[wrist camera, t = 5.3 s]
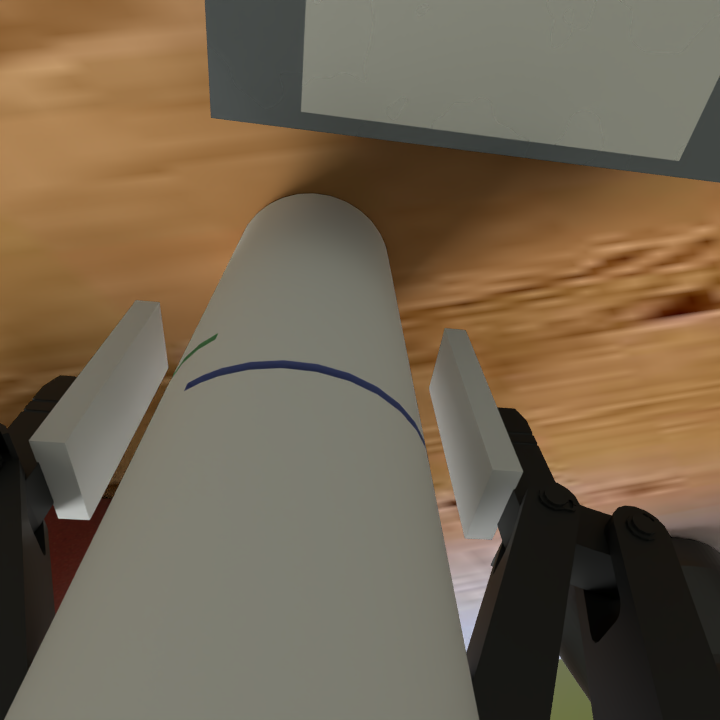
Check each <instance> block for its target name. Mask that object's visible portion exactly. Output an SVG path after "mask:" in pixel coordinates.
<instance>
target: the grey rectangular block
mask: <svg viewBox="0 0 720 720" xmlns="http://www.w3.org/2000/svg"><path fill="white" fill-rule="evenodd" d="M205 12H206V31H207V50H208V69H209V88H210V108H211V118H216V119H224V120H232V121H240V122H248V123H255V124H263V125H271V126H279V127H287V128H295V129H303V130H311V131H318V132H326V133H334V134H342V135H350V136H358V137H366V138H373V139H381V140H389V141H397V142H405V143H413V144H421V145H428V146H436V147H444V148H452V149H460V150H468V151H476V152H484V153H491V154H499V155H507V156H515V157H523V158H531V159H539V160H546V161H554V162H562V163H570V164H578V165H586V166H594V167H602V168H609V169H617V170H625V171H633V172H641V173H649V174H657V175H664V176H672V177H680V178H688V179H696V180H704V181H712V182H720V0H205Z"/></svg>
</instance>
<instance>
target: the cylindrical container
mask: <svg viewBox="0 0 720 720" xmlns="http://www.w3.org/2000/svg"><path fill="white" fill-rule="evenodd" d="M4 720H479V716H478V711H477V706H476V701H475V696H474V691H473V686H472V680H471V675H470V670H469V665H468V660H467V655H466V650H465V645H464V640H463V634H462V629H461V624H460V619H459V614H458V609H457V604H456V599H455V594H454V589H453V583H452V578H451V573H450V568H449V563H448V558H447V553H446V548H445V543H444V537H443V532H442V527H441V522H440V517H439V512H438V507H437V502H436V497H435V491H434V486H433V481H432V476H431V471H430V466H429V461H428V456H427V451H426V446H425V441H424V436H423V431H422V426H421V421H420V416H419V411H418V406H417V401H416V396H415V391H414V386H413V381H412V376H411V371H410V366H409V361H408V356H407V351H406V346H405V341H404V336H403V331H402V325H401V320H400V315H399V310H398V305H397V300H396V295H395V290H394V284H393V279H392V274H391V269H390V264H389V259H388V254H387V249H386V246H385V243H384V241H383V239H382V236H381V234H380V233H379V231H378V230H377V228H376V227H375V225H374V224H373V222H372V221H371V220H370V219H369V218H368V217H367V216H366V215H364V214H363V213H362V212H361V211H360V210H359V209H357V208H355V207H354V206H352V205H351V204H349V203H347V202H346V201H343V200H340V199H337V198H335V197H332V196H328V195H321V194H315V193H310V194H296V195H292V196H288V197H284V198H281V199H279V200H277V201H275V202H273V203H271V204H269V205H268V206H266V207H265V208H264V209H262V210H261V211H260V212H258V213H257V214H256V216H255V217H254V218H253V219H252V220H251V221H250V223H249V224H248V225H247V227H246V229H245V231H244V233H243V235H242V237H241V239H240V241H239V243H238V245H237V247H236V249H235V251H234V253H233V255H232V257H231V259H230V261H229V263H228V265H227V267H226V269H225V271H224V273H223V275H222V277H221V279H220V281H219V283H218V285H217V287H216V289H215V291H214V293H213V295H212V297H211V299H210V302H209V304H208V306H207V308H206V310H205V312H204V314H203V316H202V318H201V320H200V322H199V324H198V326H197V328H196V330H195V332H194V334H193V336H192V338H191V340H190V342H189V344H188V346H187V348H186V350H185V352H184V354H183V356H182V358H181V360H180V362H179V364H178V366H177V368H176V370H175V372H174V374H173V377H172V379H171V380H170V382H169V384H168V386H167V388H166V391H165V393H164V395H163V397H162V399H161V401H160V403H159V405H158V407H157V409H156V411H155V413H154V415H153V417H152V419H151V421H150V423H149V425H148V427H147V429H146V431H145V433H144V435H143V437H142V439H141V441H140V444H139V446H138V448H137V450H136V452H135V454H134V456H133V458H132V460H131V462H130V464H129V466H128V468H127V470H126V472H125V474H124V476H123V478H122V480H121V482H120V484H119V486H118V488H117V490H116V492H115V495H114V497H113V499H112V501H111V503H110V505H109V507H108V509H107V511H106V513H105V515H104V517H103V519H102V521H101V523H100V525H99V527H98V529H97V531H96V533H95V535H94V537H93V539H92V541H91V543H90V546H89V548H88V550H87V552H86V554H85V556H84V558H83V560H82V562H81V564H80V566H79V568H78V570H77V572H76V574H75V576H74V578H73V580H72V582H71V584H70V586H69V588H68V590H67V592H66V594H65V597H64V599H63V601H62V603H61V605H60V607H59V609H58V611H57V613H56V615H55V617H54V619H53V621H52V623H51V625H50V627H49V629H48V631H47V633H46V635H45V637H44V639H43V641H42V643H41V645H40V647H39V650H38V652H37V654H36V656H35V658H34V660H33V662H32V664H31V666H30V668H29V670H28V672H27V674H26V676H25V678H24V680H23V682H22V684H21V686H20V688H19V690H18V692H17V694H16V696H15V698H14V701H13V703H12V705H11V707H10V709H9V711H8V713H7V715H6V717H5V719H4Z"/></svg>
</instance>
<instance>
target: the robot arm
mask: <svg viewBox="0 0 720 720" xmlns="http://www.w3.org/2000/svg"><path fill="white" fill-rule="evenodd" d="M167 370H168V361H167V354H166V346H165V339H164V332H163V324H162V317H161V309H160V302H150V301H139V300H136V301H135V302H134V304H133V305H132V306H131V308H130V309H129V310H128V311H127V313H126V314H125V315H124V317H123V318H122V319H121V321H120V322H119V323H118V324H117V326H116V327H115V328H114V330H113V331H112V332H111V334H110V335H109V336H108V338H107V339H106V340H105V341H104V343H103V344H102V345H101V347H100V348H99V349H98V351H97V352H96V353H95V355H94V356H93V357H92V358H91V360H90V361H89V362H88V364H87V365H86V366H85V368H84V369H83V370H82V372H81V373H80V374H79V375H78V377H74V376H61V375H60V376H59V377H57V378H55V379H54V380H52V381H51V382H49V383H47V384H46V385H44V386H43V387H42V388H41V389H40V390H39V392H38V393H37V394H36V395H35V396H34V398H33V401H30V402H29V404H28V405H27V406H26V407H25V408H24V412H21V413H20V414H19V415H18V417H17V418H16V419H15V420H14V421H13V423H12V424H11V425H10V426H9V427H8V429H7V428H6V426H4V425H2V424H1V423H0V720H4V719H5V717H6V715H7V713H8V711H9V709H10V707H11V705H12V703H13V701H14V698H15V696H16V694H17V692H18V690H19V688H20V686H21V684H22V682H23V680H24V678H25V676H26V674H27V672H28V670H29V668H30V666H31V664H32V662H33V660H34V658H35V656H36V654H37V652H38V650H39V647H40V645H41V643H42V641H43V639H44V637H45V635H46V633H47V631H48V629H49V627H50V625H51V623H52V621H53V619H54V617H55V607H54V595H53V583H52V572H51V560H50V548H49V537H48V528H47V525H46V523H45V520H44V518H45V516H46V515H47V513H48V511H49V510H50V508H51V507H52V505H53V506H54V508H55V511H56V513H57V516H58V519H77V520H90V519H91V517H92V515H93V513H94V511H95V509H96V507H97V505H98V503H99V502H100V500H101V498H102V496H103V494H104V492H105V490H106V488H107V486H108V484H109V482H110V480H111V478H112V476H113V474H114V472H115V471H116V469H117V467H118V465H119V463H120V461H121V459H122V457H123V455H124V453H125V451H126V449H127V447H128V445H129V443H130V442H131V440H132V438H133V436H134V434H135V432H136V430H137V428H138V426H139V424H140V422H141V420H142V418H143V416H144V414H145V412H146V411H147V409H148V407H149V405H150V403H151V401H152V399H153V397H154V395H155V393H156V391H157V389H158V387H159V385H160V383H161V381H162V380H163V378H164V376H165V374H166V372H167ZM429 390H430V394H431V399H432V403H433V407H434V411H435V415H436V420H437V424H438V428H439V432H440V436H441V440H442V445H443V449H444V453H445V457H446V461H447V466H448V470H449V474H450V478H451V482H452V486H453V491H454V495H455V499H456V503H457V507H458V511H459V516H460V520H461V524H462V528H463V532H464V537H465V538H467V539H488V540H492V538H493V536H494V534H495V532H496V530H497V527H498V528H499V531H500V535H501V538H502V543H501V545H500V547H499V549H498V551H497V553H496V555H495V557H494V559H493V561H492V563H491V566H493V568H492V571H491V575H490V578H489V581H488V584H487V588H486V591H485V594H484V597H483V601H482V604H481V607H480V610H479V614H478V617H477V620H476V623H475V627H474V630H473V633H472V636H471V639H470V643H469V646H468V649H467V652H466V655H467V660H468V665H469V670H470V675H471V680H472V686H473V691H474V696H475V701H476V706H477V711H478V716H479V720H550V715H551V708H552V702H553V695H554V688H555V681H556V674H557V667H558V661H559V655H560V657H561V659H562V660H563V662H564V663H565V665H566V666H567V668H568V669H569V671H570V672H571V674H572V675H573V677H574V678H575V680H576V681H577V683H578V684H579V686H580V687H581V688H582V690H583V691H584V693H585V694H586V696H587V697H588V699H589V700H590V702H591V706H592V713H593V719H594V720H720V553H719V552H718V551H716V550H715V549H714V548H712V547H710V546H708V545H706V544H703V543H700V542H697V541H693V540H688V539H680V538H671V537H670V535H669V533H668V531H667V530H666V528H665V526H664V525H663V524H662V523H661V522H660V521H659V520H658V519H657V518H656V517H654V516H653V515H651V514H650V513H648V512H647V511H645V510H642V509H640V508H637V507H633V506H622V507H619V508H617V509H616V511H615V512H614V513H613V515H612V516H611V515H608V514H605V513H602V512H599V511H596V510H593V509H590V508H587V507H584V506H582V505H580V504H579V502H578V501H577V499H576V497H575V496H574V495H573V494H572V493H571V492H570V491H569V490H568V489H567V488H565V487H564V486H562V485H560V484H558V483H556V482H555V480H554V478H553V476H552V474H551V472H550V470H549V468H548V465H547V463H546V461H545V459H544V457H543V455H542V453H541V450H540V448H539V446H537V442H536V440H535V438H534V436H533V435H532V431H531V429H530V427H529V425H528V423H527V421H526V419H525V418H524V417H523V416H522V415H521V414H520V413H519V412H518V411H517V410H516V409H512V408H498V407H497V406H496V404H495V401H494V399H493V396H492V394H491V391H490V389H489V386H488V384H487V382H486V379H485V377H484V374H483V372H482V369H481V367H480V364H479V362H478V359H477V357H476V354H475V352H474V350H473V347H472V345H471V342H470V340H469V337H468V335H467V332H466V330H459V329H448V328H445V329H444V333H443V337H442V341H441V345H440V348H439V352H438V356H437V360H436V364H435V368H434V372H433V375H432V379H431V383H430V387H429Z"/></svg>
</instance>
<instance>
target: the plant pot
mask: <svg viewBox="0 0 720 720" xmlns="http://www.w3.org/2000/svg"><path fill="white" fill-rule="evenodd" d="M111 501H112V499H101V500H100V502H99V503H98V505H97V507H96V509H95V511H94V513H93V515H92V517H91V519H90V520H77V519H58V516H57V513H56V511H55V508H54V506H53V505H52V507H51V508H50V510H49V511H48V513H47V515H46V516H45V518H44V520H45V523H46V525H47V528H48V537H49V548H50V560H51V572H52V583H53V595H54V607H55V615H56V613H57V611H58V609H59V607H60V605H61V603H62V601H63V599H64V597H65V594H66V592H67V590H68V588H69V586H70V584H71V582H72V580H73V578H74V576H75V574H76V572H77V570H78V568H79V566H80V564H81V562H82V560H83V558H84V556H85V554H86V552H87V550H88V548H89V546H90V543H91V541H92V539H93V537H94V535H95V533H96V531H97V529H98V527H99V525H100V523H101V521H102V519H103V517H104V515H105V513H106V511H107V509H108V507H109V505H110V503H111Z"/></svg>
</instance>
